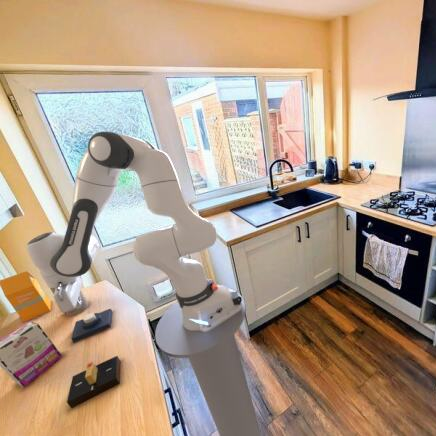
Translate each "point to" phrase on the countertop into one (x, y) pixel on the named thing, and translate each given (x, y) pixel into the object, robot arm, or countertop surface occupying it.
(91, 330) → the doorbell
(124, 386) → the countertop surface
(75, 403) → the plate
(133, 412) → the countertop surface
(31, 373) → the candy bar box
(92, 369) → the lock knob
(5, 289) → the orange juice
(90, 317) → the bell button
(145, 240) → the robot arm
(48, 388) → the countertop surface
